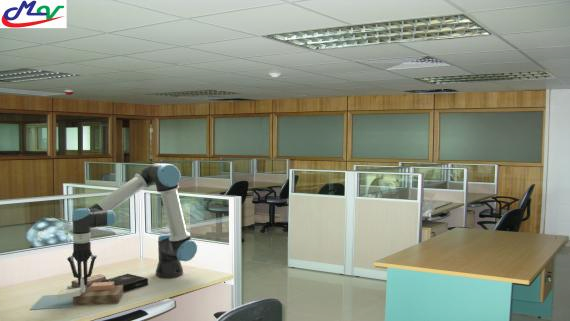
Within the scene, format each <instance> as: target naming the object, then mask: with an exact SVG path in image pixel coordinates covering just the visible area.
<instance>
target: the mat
mask: <svg viewBox="0 0 570 321" xmlns="http://www.w3.org/2000/svg"><path fill="white" fill-rule="evenodd" d="M73 307H74V306H73V297H70V298H64V299H58V300H57V294H46V295H44V294H43V295H42V296H41V297H40V298H39V299H38V300H37V301H36V302H35V304H33V305H32V306H31V307H30V308H29V311H35V310H36V311H38V310H51V309H67V308H73Z"/></svg>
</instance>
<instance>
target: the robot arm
mask: <svg viewBox="0 0 570 321" xmlns="http://www.w3.org/2000/svg"><path fill="white" fill-rule="evenodd" d="M180 180H181V171H180V169H179V168H178V167H177V166H176V165H174V164H171V163H158V162H156V163H152V164H149V165H147V166H146V167H144V168H142V169H141V170H140V171H137V173H135V174H134V177H133V178H131V179H130V180H129V181H126V182H125V183H124V184H122V185H121V186H119V187H118V188H116V189H115V190H114V191H112V192H111V193H109V194H108V195H106V196H105V197H104V198H102V199H100V200H99V201H97V202H96V203H94V204H93V205H91V206H89V207H83V208H82V207H81V208H75V209H74V210H72V241H73V244H72V246H73V248H72V251H73V252H72V255H70V256H68V257H67V259H66V260H67V261H68V262H69V265H70V268H71V272H72V275H73V278H77V279H78V285H81V293H84V292H85V285H87V277H90V276H92V274H93V269H94V265H95V261H96V259H97V257H98V255H94V254H93V251H92V249H91V247H92V246H91V244H92V243H91V240H92V238H91V228H101V227H109V226H113V225H115V223H116V220H117V219H116V218H117V217H116V212H115V211H114V209H116V208H118V207H119V206H121V205H122V204H124V203H125V202H126V201H127V200H129V199H130V198H132V197H133V196H134V195H136V194H137V193H139V192H140V191H141V190H147V189H148V188H149V187H152V186H155V188H156V191H157V193H158V194H160V197H161V200H162V204H163V208H164V209H163V210H164V213H165V217H166V221H167V225H168V230H169V233H164V234H159V236H158V240H157V245H158V248H157V249H158V263H157V266H156V269H155V276H156V277H158V278H164V279H167V278H169V279H170V278H176V277H180V276H183V274H184V268H183V265H182V262H189V261H191V260H193V259H194V257H195V256H196V254H197V252H198V245H197V243H196V242H195V241H194V240H193V239H192V236H191V233H190V232H189V231H187V227H186V223H185V219H184V218H185V217H184V214H183V210H182V206H181V202H180V201H181V200H180V197H179V194H178V192H179V191H178V189H179V187H180V185H179V184H180ZM89 259H90V265H89V269H88V260H89ZM74 260H75V261H76V263H77V264H76V265H77V268H76V265H75V261H74ZM82 264H83V265H82ZM82 266H83V274H82ZM82 275H83V276H82Z"/></svg>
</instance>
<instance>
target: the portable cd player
mask: <svg viewBox="0 0 570 321" xmlns="http://www.w3.org/2000/svg"><path fill="white" fill-rule="evenodd" d="M106 279H107V280H103V281H101V282H114V286H117V285H123V294H125V293H127V292H130V291H132V290H136V289H139V288H142V287H146V286H148V285H149V278H148V277H144V276H139V275H136V274H131V273H125V274H122V275H118V276H114V277H110V278H106Z"/></svg>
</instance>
